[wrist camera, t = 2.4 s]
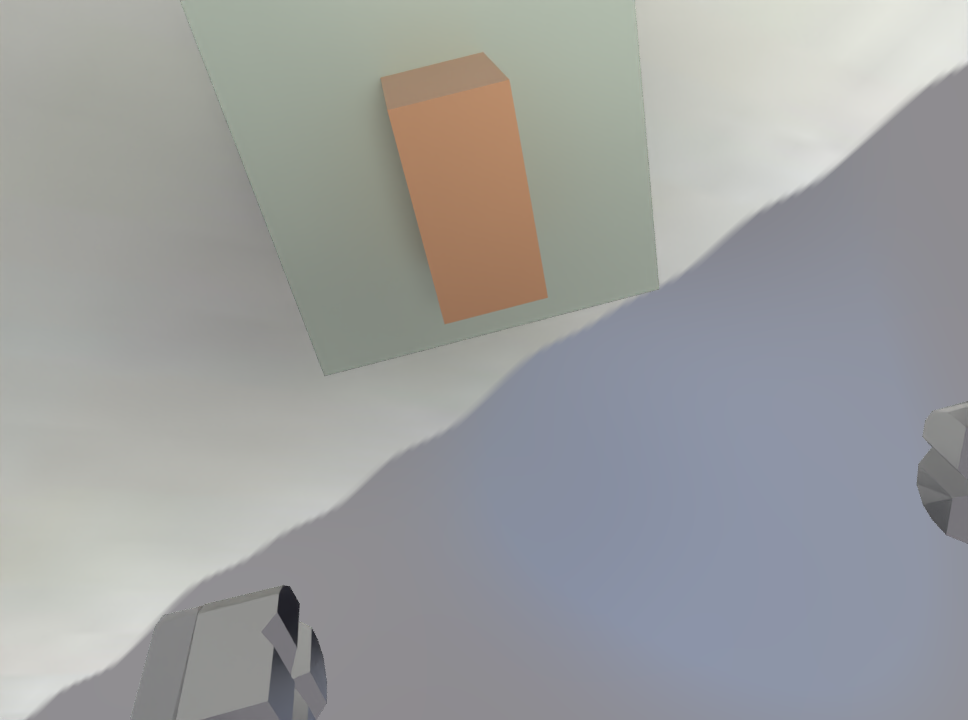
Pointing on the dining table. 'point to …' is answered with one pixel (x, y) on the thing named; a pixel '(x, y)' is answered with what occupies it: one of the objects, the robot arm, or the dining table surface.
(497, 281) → the lid
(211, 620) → the robot arm
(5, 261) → the dining table surface
